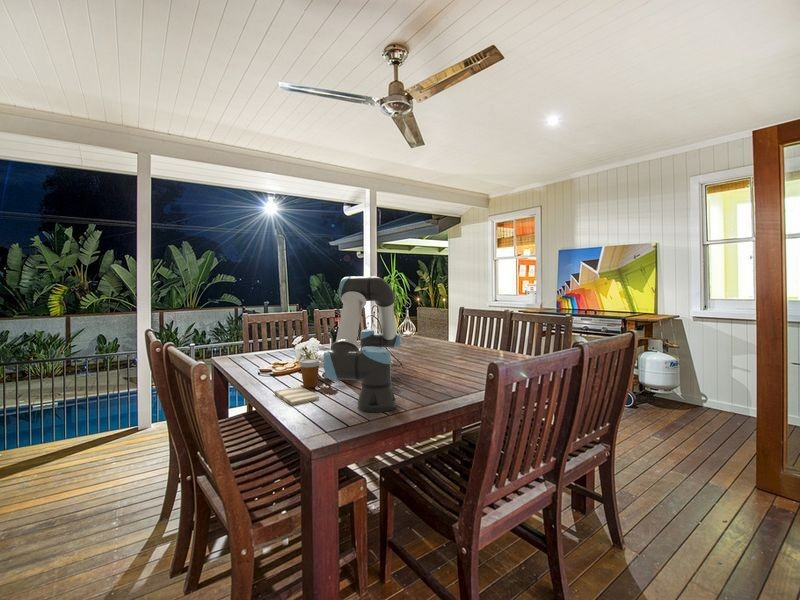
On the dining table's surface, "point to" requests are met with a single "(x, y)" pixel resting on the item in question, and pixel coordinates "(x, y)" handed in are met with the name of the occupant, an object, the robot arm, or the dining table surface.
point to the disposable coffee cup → (309, 372)
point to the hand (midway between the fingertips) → (320, 368)
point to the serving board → (296, 395)
